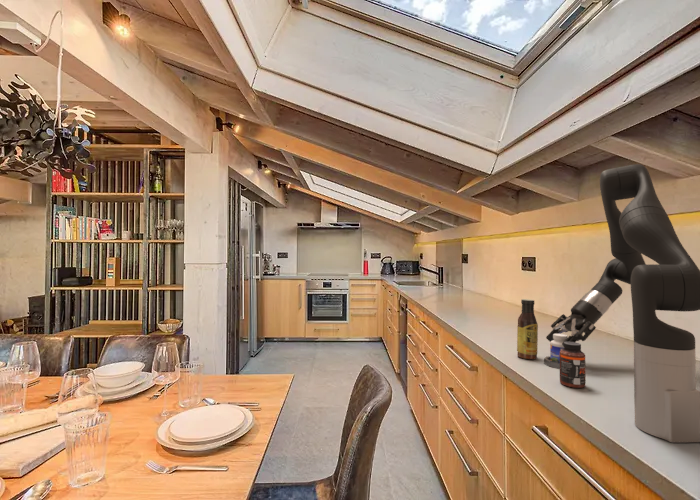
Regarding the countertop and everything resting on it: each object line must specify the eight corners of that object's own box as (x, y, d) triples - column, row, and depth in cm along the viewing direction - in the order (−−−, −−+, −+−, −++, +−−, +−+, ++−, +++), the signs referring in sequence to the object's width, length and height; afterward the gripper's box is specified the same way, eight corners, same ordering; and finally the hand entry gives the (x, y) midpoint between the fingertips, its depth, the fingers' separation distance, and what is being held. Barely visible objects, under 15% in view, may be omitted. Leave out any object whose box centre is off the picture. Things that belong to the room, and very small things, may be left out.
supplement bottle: (584, 390, 91) (584, 347, 91) (558, 385, 94) (557, 343, 94) (586, 384, 95) (586, 342, 96) (561, 379, 99) (560, 339, 99)
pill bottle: (546, 362, 114) (546, 333, 115) (562, 362, 115) (562, 332, 115) (557, 368, 109) (557, 336, 109) (574, 367, 109) (573, 336, 109)
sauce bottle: (528, 361, 116) (528, 301, 116) (513, 356, 122) (512, 299, 122) (542, 358, 119) (541, 300, 119) (526, 354, 124) (525, 298, 125)
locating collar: (579, 369, 108) (579, 363, 108) (554, 369, 108) (554, 363, 108) (563, 361, 116) (563, 356, 116) (539, 361, 116) (539, 356, 116)
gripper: (568, 296, 120) (535, 330, 119) (599, 302, 105) (561, 340, 105) (584, 312, 120) (551, 345, 119) (616, 319, 105) (579, 358, 105)
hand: (556, 343), depth 112 cm, fingers open, 8 cm apart
